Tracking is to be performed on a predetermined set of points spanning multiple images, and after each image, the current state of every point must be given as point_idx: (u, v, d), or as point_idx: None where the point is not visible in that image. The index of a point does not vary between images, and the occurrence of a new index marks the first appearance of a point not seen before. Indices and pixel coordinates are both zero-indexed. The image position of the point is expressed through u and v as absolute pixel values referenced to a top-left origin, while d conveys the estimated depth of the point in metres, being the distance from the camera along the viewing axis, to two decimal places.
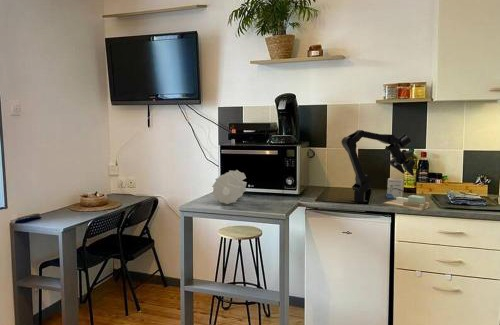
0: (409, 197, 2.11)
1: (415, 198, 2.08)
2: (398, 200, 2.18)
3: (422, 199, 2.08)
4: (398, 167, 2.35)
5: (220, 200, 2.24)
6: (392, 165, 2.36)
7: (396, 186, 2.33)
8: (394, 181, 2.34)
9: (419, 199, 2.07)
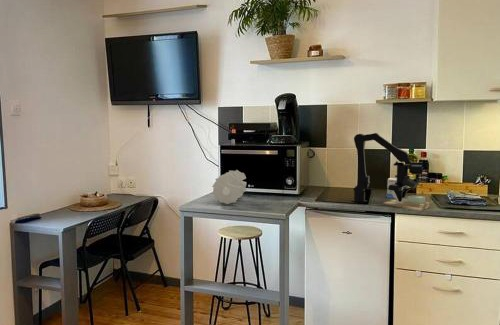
0: (409, 197, 2.11)
1: (415, 198, 2.08)
2: (398, 200, 2.18)
3: (422, 199, 2.08)
4: None
5: (220, 200, 2.24)
6: None
7: None
8: (394, 181, 2.34)
9: (419, 199, 2.07)
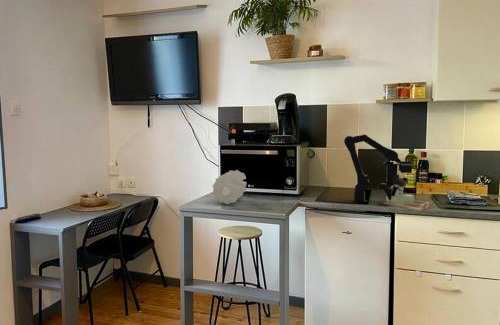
0: (398, 195, 2.16)
1: (404, 196, 2.13)
2: None
3: (411, 197, 2.12)
4: None
5: (220, 200, 2.24)
6: None
7: None
8: None
9: (408, 197, 2.11)
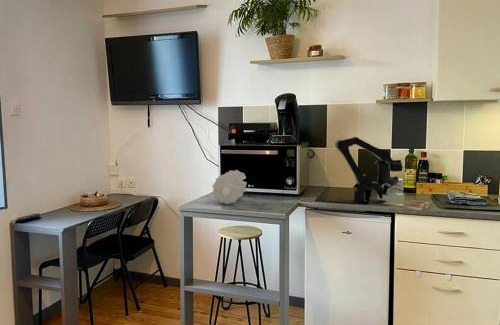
0: (389, 194, 2.20)
1: (395, 195, 2.17)
2: (379, 197, 2.27)
3: (401, 196, 2.17)
4: None
5: (220, 200, 2.24)
6: None
7: (396, 186, 2.33)
8: None
9: (398, 195, 2.16)
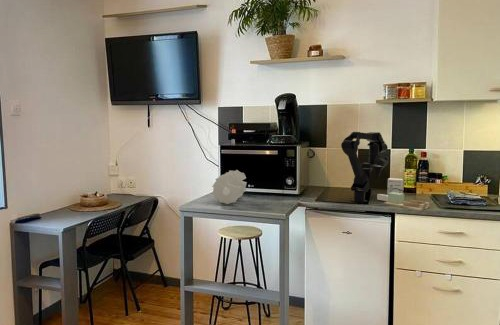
0: (389, 194, 2.20)
1: (394, 195, 2.18)
2: (379, 197, 2.27)
3: (401, 196, 2.17)
4: (376, 169, 2.38)
5: (220, 200, 2.24)
6: None
7: (396, 186, 2.33)
8: (394, 181, 2.34)
9: (398, 195, 2.16)
